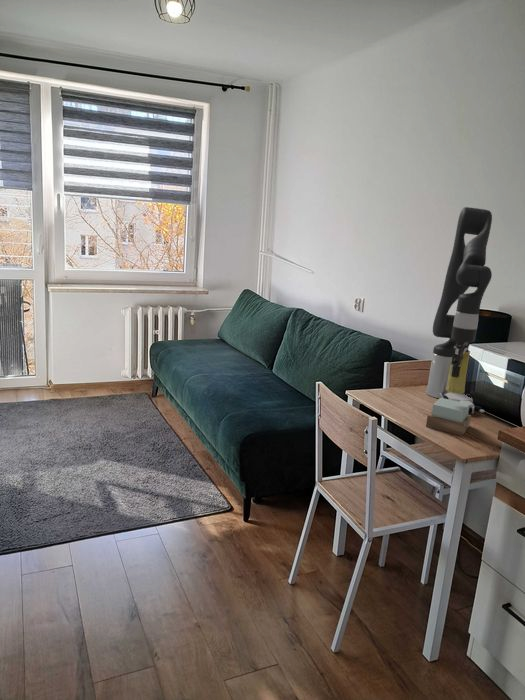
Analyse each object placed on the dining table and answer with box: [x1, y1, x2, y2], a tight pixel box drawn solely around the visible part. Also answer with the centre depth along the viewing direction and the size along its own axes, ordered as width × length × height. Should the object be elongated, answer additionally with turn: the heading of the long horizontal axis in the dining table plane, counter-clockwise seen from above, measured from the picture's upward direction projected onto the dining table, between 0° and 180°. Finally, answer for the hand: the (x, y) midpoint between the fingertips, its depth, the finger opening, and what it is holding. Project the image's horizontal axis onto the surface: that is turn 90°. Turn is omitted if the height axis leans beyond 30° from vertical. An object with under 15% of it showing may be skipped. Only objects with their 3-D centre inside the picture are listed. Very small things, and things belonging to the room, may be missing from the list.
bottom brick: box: [425, 411, 472, 437], centre depth 191 cm, size 12×12×4 cm
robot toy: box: [440, 392, 485, 414], centre depth 211 cm, size 12×4×15 cm
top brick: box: [431, 398, 470, 423], centre depth 190 cm, size 10×10×4 cm
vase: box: [446, 349, 471, 394], centre depth 186 cm, size 6×6×14 cm
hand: (456, 374), depth 187 cm, fingers closed on vase, 5 cm apart
